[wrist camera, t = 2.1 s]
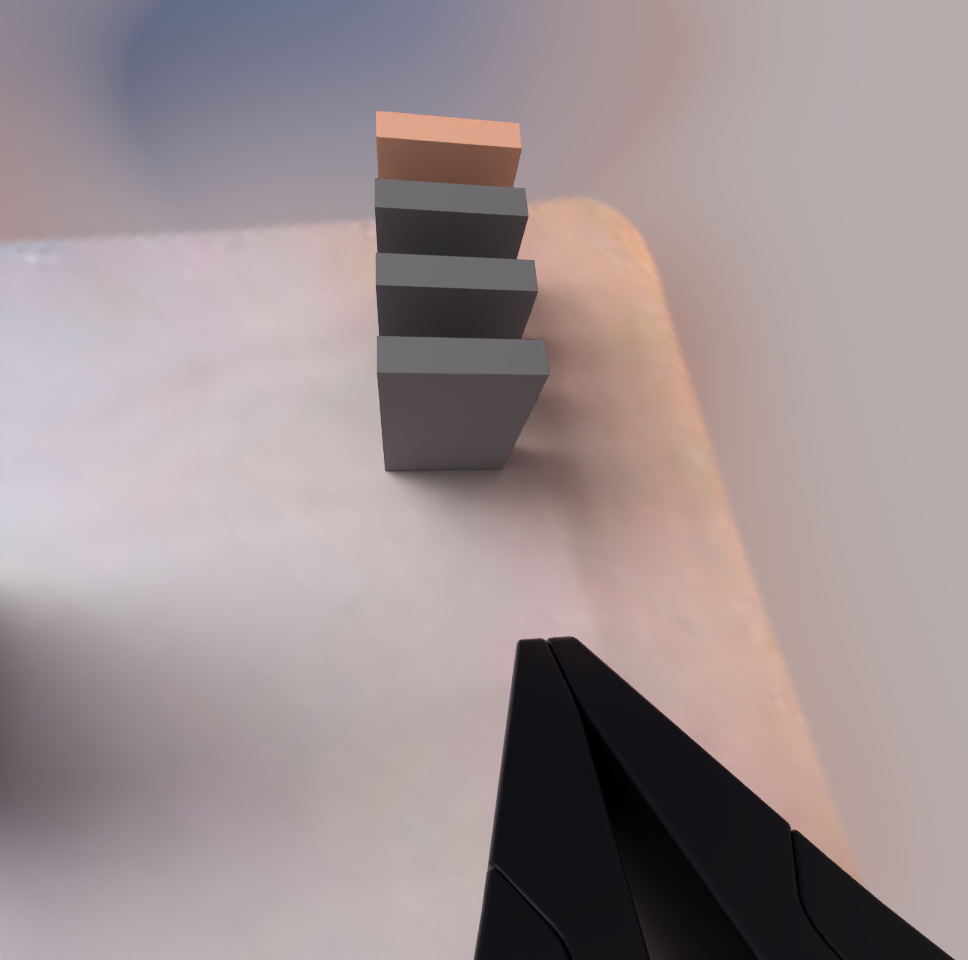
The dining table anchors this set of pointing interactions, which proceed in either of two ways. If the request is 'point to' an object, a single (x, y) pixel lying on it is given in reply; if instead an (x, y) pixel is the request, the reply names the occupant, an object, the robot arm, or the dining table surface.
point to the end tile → (447, 149)
